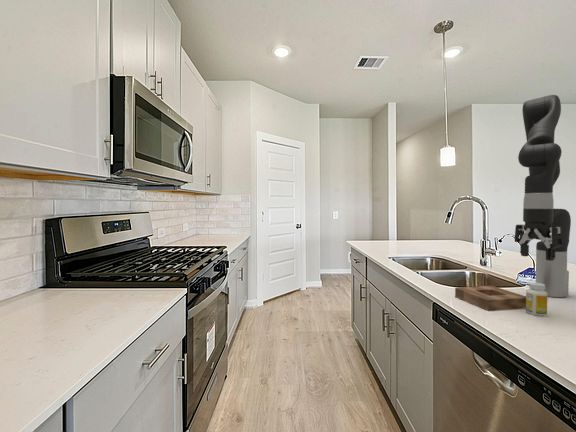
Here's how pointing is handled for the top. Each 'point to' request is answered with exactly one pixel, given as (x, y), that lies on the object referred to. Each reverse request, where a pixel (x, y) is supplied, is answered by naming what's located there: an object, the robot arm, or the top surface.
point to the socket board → (491, 297)
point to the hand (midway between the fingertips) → (536, 258)
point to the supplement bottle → (536, 299)
